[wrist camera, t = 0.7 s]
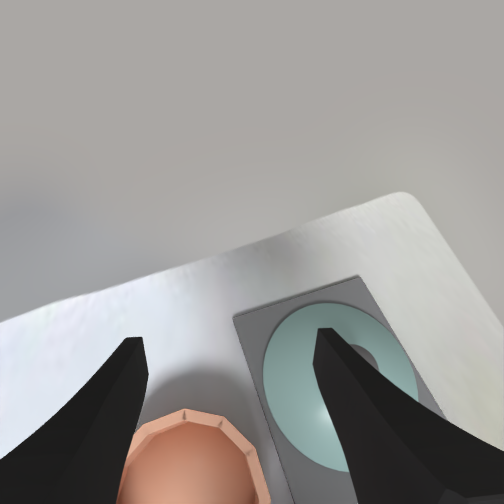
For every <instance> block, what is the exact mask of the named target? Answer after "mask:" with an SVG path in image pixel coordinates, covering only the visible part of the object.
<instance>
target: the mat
mask: <svg viewBox="0 0 504 504" xmlns="http://www.w3.org/2000/svg"><path fill="white" fill-rule="evenodd" d="M321 303H335V304H342V305H346V306H350V307H353V308H355V309H358V310H360V311H362V312H364V313H366V314H368V315H369V316H371V317H372V318H374V319H375V320H377V321H378V322H379V323H380V324H382V325H383V326H384V327H385V328H386V329H387V330H388V331H389V332H390V333H391V334H392V335H393V336H394V338H395V339H396V340H397V341H398V343H399V344H400V346H401V347H402V349H403V350H404V348H403V346H402V345H401V343H400V341H399V340H398V338H397V336H396V335H395V333H394V332H393V330H392V328H391V327H390V325H389V323H388V322H387V320H386V318H385V317H384V315H383V313H382V312H381V310H380V308H379V307H378V305H377V303H376V302H375V300H374V298H373V297H372V295H371V293H370V292H369V290H368V288H367V287H366V285H365V283H364V282H363V280H362V279H361V277H358V278H355V279H352V280H349V281H346V282H343V283H340V284H337V285H333V286H330V287H327V288H324V289H321V290H318V291H315V292H312V293H309V294H305V295H302V296H299V297H296V298H293V299H290V300H287V301H284V302H281V303H278V304H274V305H271V306H268V307H265V308H262V309H259V310H256V311H253V312H250V313H246V314H243V315H240V316H237V317H234V318H233V322H234V325H235V328H236V331H237V334H238V337H239V340H240V343H241V346H242V349H243V352H244V355H245V358H246V361H247V364H248V367H249V370H250V373H251V376H252V379H253V381H254V384H255V387H256V390H257V393H258V396H259V399H260V402H261V405H262V408H263V411H264V414H265V417H266V420H267V423H268V426H269V429H270V432H271V435H272V438H273V441H274V444H275V447H276V450H277V453H278V456H279V459H280V462H281V465H282V468H283V471H284V473H285V476H286V479H287V482H288V485H289V488H290V491H291V494H292V497H293V500H294V503H295V504H357V503H358V501H357V497H356V494H355V490H354V486H353V483H352V479H351V476H350V472H344V471H338V470H335V469H331V468H328V467H325V466H323V465H320V464H318V463H316V462H314V461H313V460H311V459H309V458H308V457H306V456H305V455H303V454H302V453H301V452H300V451H299V450H297V449H296V448H295V447H294V446H293V445H292V444H291V443H290V442H289V441H288V439H287V438H286V437H285V436H284V434H283V433H282V432H281V430H280V429H279V427H278V425H277V424H276V422H275V420H274V418H273V416H272V414H271V412H270V409H269V407H268V403H267V400H266V396H265V392H264V385H263V364H264V358H265V353H266V350H267V347H268V344H269V342H270V340H271V338H272V336H273V334H274V332H275V331H276V330H277V328H278V327H279V325H280V324H281V323H282V322H283V321H284V320H285V319H286V318H287V317H289V316H290V315H291V314H293V313H294V312H296V311H298V310H299V309H302V308H304V307H307V306H310V305H314V304H321ZM404 352H405V354H406V356H407V358H408V359H409V362H410V364H411V367H412V369H413V372H414V376H415V379H416V384H417V390H418V402H419V403H421V404H422V405H424V406H425V407H427V408H428V409H430V410H431V411H433V412H434V413H436V414H438V415H439V416H441V417H442V418H444V419H445V420H447V419H446V418H445V416H444V414H443V413H442V411H441V409H440V408H439V406H438V404H437V403H436V401H435V399H434V398H433V396H432V394H431V393H430V391H429V389H428V388H427V386H426V384H425V383H424V381H423V380H422V378H421V376H420V375H419V373H418V371H417V370H416V368H415V366H414V365H413V363H412V361H411V360H410V358H409V356H408V355H407V353H406V351H405V350H404Z"/></svg>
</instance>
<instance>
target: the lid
mask: <svg viewBox="0 0 504 504" xmlns="http://www.w3.org/2000/svg"><path fill="white" fill-rule="evenodd" d="M318 328H333V329H334V330H335V331H336V332H337V333H338V334H339V335H340V336H341V337H342V338H343V339H344V340H345V341H346V342H347V343H348V344H349V345H350V346H351V347H352V348H353V349H354V350H355V351H357V352H358V353H359V354H360V355H361V356H362V357H363V358H364V359H365V360H366V361H367V362H368V363H370V364H371V365H372V366H373V367H374V368H375V369H376V370H378V371H379V372H380V373H381V374H382V375H384V376H385V377H386V378H387V379H388V380H390V381H391V382H392V383H393V384H395V385H396V386H397V387H398V388H400V389H401V390H403V391H404V392H405V393H407V394H408V395H409V396H411V397H412V398H414V399H415V400H416V401H418V390H417V384H416V379H415V376H414V372H413V369H412V367H411V364H410V362H409V359H408V358H407V356H406V354H405V352H404V350H403V349H402V347H401V346H400V344H399V343H398V341H397V340H396V339H395V338H394V336H393V335H392V334H391V333H390V332H389V331H388V330H387V329H386V328H385V327H384V326H383V325H382V324H380V323H379V322H378V321H377V320H375V319H374V318H372V317H371V316H369V315H368V314H366V313H364V312H362V311H360V310H358V309H355V308H353V307H350V306H346V305H342V304H335V303H321V304H314V305H310V306H307V307H304V308H302V309H299V310H298V311H296V312H294V313H293V314H291V315H290V316H289V317H287V318H286V319H285V320H284V321H283V322H282V323H281V324H280V325H279V327H278V328H277V330H276V331H275V332H274V334H273V336H272V338H271V340H270V342H269V344H268V347H267V350H266V353H265V358H264V364H263V385H264V392H265V396H266V400H267V403H268V407H269V409H270V412H271V414H272V416H273V418H274V420H275V422H276V424H277V425H278V427H279V429H280V430H281V432H282V433H283V434H284V436H285V437H286V438H287V439H288V441H289V442H290V443H291V444H292V445H293V446H294V447H295V448H296V449H297V450H299V451H300V452H301V453H302V454H303V455H305V456H306V457H308V458H309V459H311V460H313V461H314V462H316V463H318V464H320V465H323V466H325V467H328V468H331V469H335V470H338V471H344V472H349V469H348V466H347V462H346V459H345V456H344V452H343V450H342V447H341V444H340V441H339V439H338V436H337V434H336V431H335V429H334V426H333V423H332V421H331V418H330V416H329V413H328V411H327V408H326V406H325V403H324V401H323V398H322V395H321V393H320V390H319V388H318V384H317V380H316V377H315V373H314V369H313V365H312V363H313V357H314V350H315V344H316V337H317V330H318Z"/></svg>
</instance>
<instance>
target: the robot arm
mask: <svg viewBox="0 0 504 504" xmlns="http://www.w3.org/2000/svg"><path fill="white" fill-rule="evenodd" d="M312 365H313V369H314V373H315V377H316V380H317V384H318V388H319V390H320V393H321V395H322V398H323V401H324V403H325V406H326V408H327V411H328V413H329V416H330V418H331V421H332V423H333V426H334V429H335V431H336V434H337V436H338V439H339V441H340V444H341V447H342V450H343V452H344V456H345V459H346V462H347V466H348V469H349V472H350V476H351V479H352V483H353V486H354V490H355V494H356V497H357V501H358V504H504V451H502V450H500V449H498V448H496V447H494V446H492V445H490V444H488V443H486V442H484V441H482V440H480V439H478V438H477V437H475V436H473V435H471V434H469V433H468V432H466V431H464V430H462V429H460V428H459V427H457V426H455V425H454V424H452V423H450V422H449V421H447V420H445V419H444V418H442V417H441V416H439V415H438V414H436V413H434V412H433V411H431V410H430V409H428V408H427V407H425V406H424V405H422V404H421V403H419V402H418V401H416V400H415V399H414V398H412V397H411V396H409V395H408V394H407V393H405V392H404V391H403V390H401V389H400V388H398V387H397V386H396V385H395V384H393V383H392V382H391V381H390V380H388V379H387V378H386V377H385V376H384V375H382V374H381V373H380V372H379V371H378V370H376V369H375V368H374V367H373V366H372V365H371V364H370V363H368V362H367V361H366V360H365V359H364V358H363V357H362V356H361V355H360V354H359V353H358V352H357V351H355V350H354V349H353V348H352V347H351V346H350V345H349V344H348V343H347V342H346V341H345V340H344V339H343V338H342V337H341V336H340V335H339V334H338V333H337V332H336V331H335V330H334V329H333V328H318V330H317V337H316V344H315V350H314V357H313V363H312ZM148 375H149V373H148V367H147V361H146V356H145V350H144V344H143V338H142V337H128V338H125V339H124V340H123V342H122V343H121V344H120V345H119V346H118V348H117V349H116V350H115V351H114V352H113V353H112V355H111V356H110V357H109V358H108V359H107V361H106V362H105V363H104V364H103V365H102V366H101V367H100V368H99V370H98V371H97V372H96V373H95V374H94V375H93V376H92V377H91V378H90V380H89V381H88V382H87V383H86V384H85V385H84V386H83V387H82V388H81V389H80V390H79V391H78V392H77V393H76V394H75V395H74V396H73V397H72V398H71V399H70V400H69V401H68V402H67V403H66V404H65V405H64V406H63V407H62V408H61V409H60V410H59V411H58V412H57V413H56V414H55V415H54V416H52V417H51V418H50V419H49V420H48V421H47V422H46V423H45V424H44V425H42V426H41V427H40V428H39V429H38V430H37V431H35V432H34V433H33V434H32V435H31V436H29V437H28V438H27V439H26V440H24V441H23V442H22V443H21V444H19V445H18V446H17V447H16V448H14V449H13V450H12V451H11V452H9V453H8V454H7V455H6V456H4V457H3V458H2V459H0V504H116V501H117V497H118V492H119V487H120V482H121V478H122V473H123V469H124V466H125V462H126V458H127V455H128V452H129V448H130V445H131V442H132V439H133V435H134V432H135V429H136V425H137V422H138V419H139V416H140V412H141V409H142V405H143V402H144V398H145V393H146V387H147V381H148Z"/></svg>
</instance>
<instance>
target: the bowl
mask: <svg viewBox="0 0 504 504" xmlns="http://www.w3.org/2000/svg"><path fill="white" fill-rule="evenodd" d="M270 501H271V498H270V495H269V491H268V488H267V485H266V482H265V478H264V475H263V472H262V469H261V465H260V462H259V459H258V455H257V452H256V449H255V447H254V446H253V445H252V444H251V443H250V442H249V441H248V440H247V439H246V438H245V437H244V436H243V435H242V434H241V433H240V432H239V431H238V430H237V429H236V428H235V427H234V426H233V425H232V424H231V423H230V422H229V421H228V420H227V419H226V418H225V417H224V416H219V415H214V414H209V413H204V412H199V411H195V410H190V409H182V410H179V411H177V412H174V413H171V414H169V415H166V416H164V417H161V418H158V419H156V420H153V421H150V422H148V423H145V424H143V425H142V426H141V427H140V428H139V429H138V431H137V432H136V433H135V434H134V435H133V439H132V442H131V445H130V448H129V452H128V455H127V458H126V462H125V466H124V469H123V473H122V478H121V482H120V487H119V492H118V497H117V501H116V504H270Z"/></svg>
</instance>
